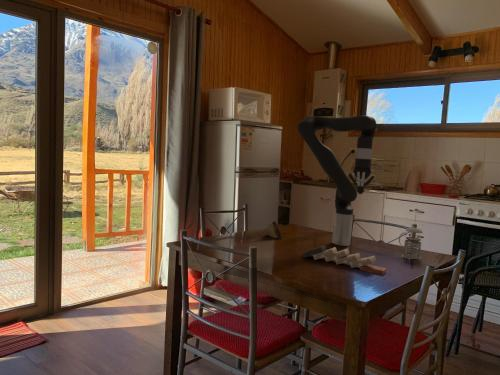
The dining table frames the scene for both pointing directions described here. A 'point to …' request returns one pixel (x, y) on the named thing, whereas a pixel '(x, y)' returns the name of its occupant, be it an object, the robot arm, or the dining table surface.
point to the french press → (414, 243)
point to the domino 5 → (363, 261)
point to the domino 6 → (373, 269)
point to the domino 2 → (325, 253)
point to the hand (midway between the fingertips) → (360, 193)
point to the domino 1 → (314, 251)
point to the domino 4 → (348, 258)
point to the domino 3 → (337, 255)
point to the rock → (274, 231)
